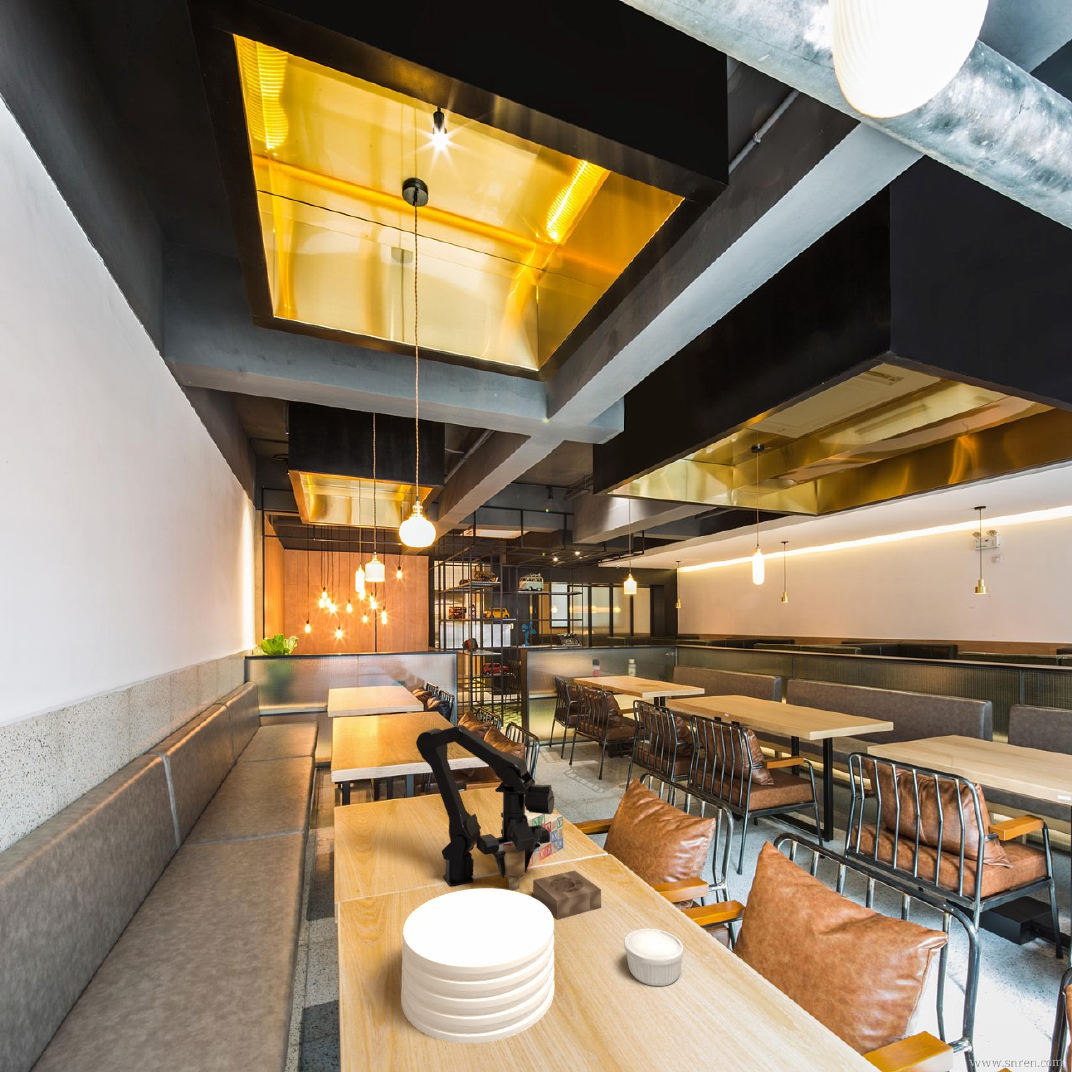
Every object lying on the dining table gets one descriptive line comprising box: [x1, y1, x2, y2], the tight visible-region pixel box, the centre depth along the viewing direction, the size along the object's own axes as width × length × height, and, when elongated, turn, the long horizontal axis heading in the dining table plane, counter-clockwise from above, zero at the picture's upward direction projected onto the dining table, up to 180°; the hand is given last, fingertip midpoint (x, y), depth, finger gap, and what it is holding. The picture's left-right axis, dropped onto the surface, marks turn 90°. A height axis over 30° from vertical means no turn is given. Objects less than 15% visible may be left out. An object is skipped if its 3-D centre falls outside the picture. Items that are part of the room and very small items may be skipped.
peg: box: [503, 846, 526, 891], centre depth 147 cm, size 6×6×9 cm
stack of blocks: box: [501, 809, 564, 868], centre depth 167 cm, size 21×6×12 cm, turn 142°
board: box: [532, 870, 602, 920], centre depth 139 cm, size 12×12×4 cm
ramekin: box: [623, 928, 685, 987], centre depth 111 cm, size 11×11×5 cm
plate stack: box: [400, 887, 555, 1045], centre depth 107 cm, size 28×28×12 cm
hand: (513, 874), depth 147 cm, fingers closed on peg, 6 cm apart
